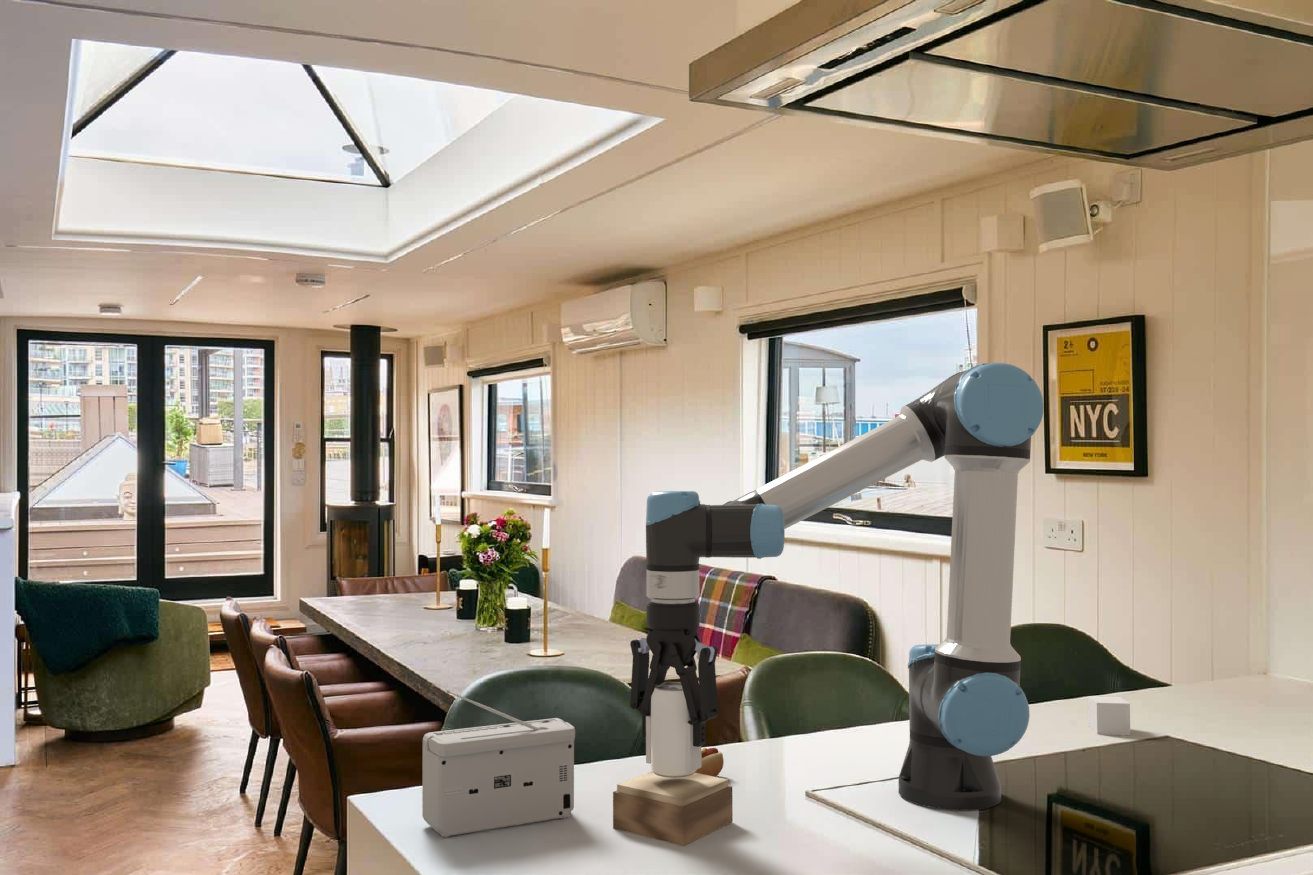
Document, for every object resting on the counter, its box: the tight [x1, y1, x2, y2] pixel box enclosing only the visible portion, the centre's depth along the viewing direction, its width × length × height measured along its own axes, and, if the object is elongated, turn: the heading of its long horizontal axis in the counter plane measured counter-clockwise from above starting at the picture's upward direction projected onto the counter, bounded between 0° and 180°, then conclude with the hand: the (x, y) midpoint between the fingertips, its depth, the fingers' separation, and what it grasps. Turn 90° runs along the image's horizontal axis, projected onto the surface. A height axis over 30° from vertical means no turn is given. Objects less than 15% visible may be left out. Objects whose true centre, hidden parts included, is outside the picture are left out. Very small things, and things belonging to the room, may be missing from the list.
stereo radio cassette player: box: [421, 689, 576, 839], centre depth 151 cm, size 21×8×20 cm, turn 117°
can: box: [650, 681, 697, 778], centre depth 149 cm, size 6×6×12 cm
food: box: [695, 747, 725, 777], centre depth 169 cm, size 14×6×5 cm, turn 144°
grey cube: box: [1087, 695, 1131, 736], centre depth 203 cm, size 6×6×6 cm
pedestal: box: [612, 770, 734, 847], centre depth 149 cm, size 12×12×6 cm
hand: (673, 764), depth 149 cm, fingers closed on can, 6 cm apart
